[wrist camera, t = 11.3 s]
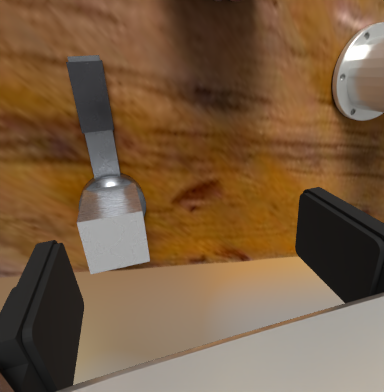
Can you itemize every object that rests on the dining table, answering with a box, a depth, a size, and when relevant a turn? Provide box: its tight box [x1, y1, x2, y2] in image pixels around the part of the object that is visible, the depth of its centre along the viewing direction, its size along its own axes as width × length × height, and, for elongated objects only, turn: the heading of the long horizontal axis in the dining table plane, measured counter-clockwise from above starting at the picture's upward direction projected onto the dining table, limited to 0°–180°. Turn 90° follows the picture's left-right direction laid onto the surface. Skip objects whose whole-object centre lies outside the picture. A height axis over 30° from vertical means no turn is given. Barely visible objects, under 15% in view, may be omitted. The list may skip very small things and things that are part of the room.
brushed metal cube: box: [77, 183, 150, 274], centre depth 30 cm, size 6×6×8 cm
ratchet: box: [66, 55, 146, 218], centre depth 31 cm, size 8×21×6 cm, turn 4°
